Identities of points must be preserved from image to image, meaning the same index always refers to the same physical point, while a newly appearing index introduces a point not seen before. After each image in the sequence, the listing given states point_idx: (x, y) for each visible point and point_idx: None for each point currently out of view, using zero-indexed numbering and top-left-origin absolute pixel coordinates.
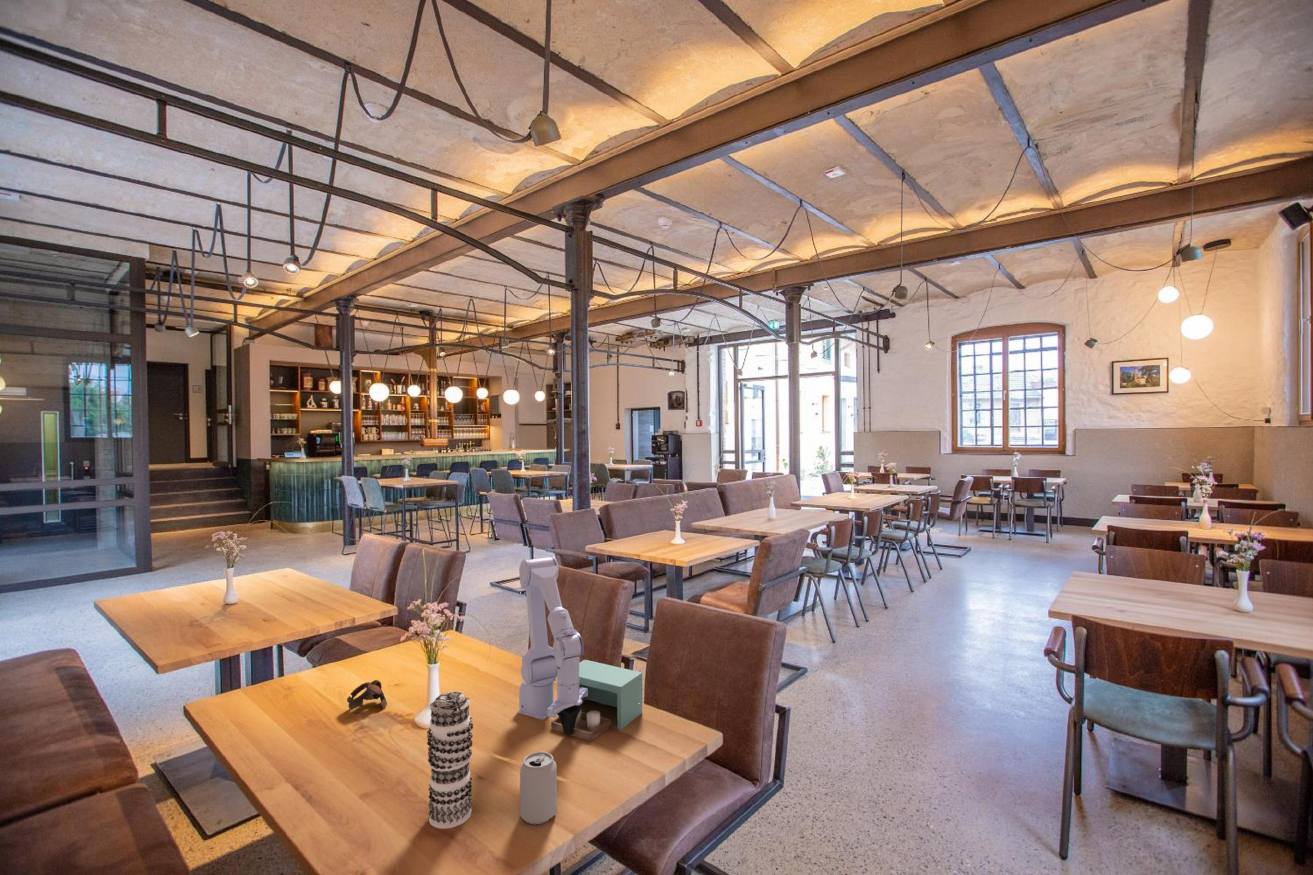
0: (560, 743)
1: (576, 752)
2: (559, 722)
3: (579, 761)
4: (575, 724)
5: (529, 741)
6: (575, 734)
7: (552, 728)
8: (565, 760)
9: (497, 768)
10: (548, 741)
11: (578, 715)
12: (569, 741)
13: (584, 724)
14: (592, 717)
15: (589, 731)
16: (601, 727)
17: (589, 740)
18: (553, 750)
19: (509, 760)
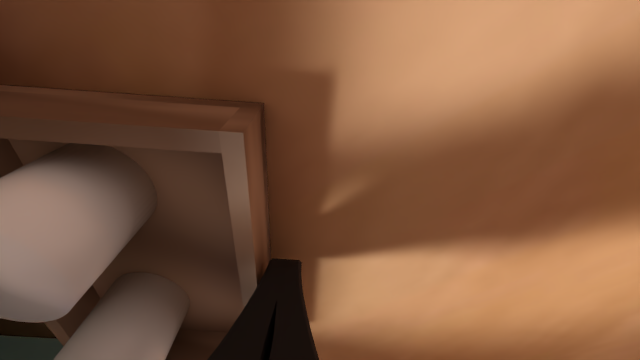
0: (353, 258)
1: (419, 131)
2: (217, 345)
3: (554, 31)
4: (166, 287)
5: (389, 350)
6: (263, 240)
7: None
8: (544, 142)
9: (628, 347)
10: (359, 304)
11: (113, 330)
12: (312, 233)
13: (119, 253)
14: (48, 252)
15: (155, 190)
16: (59, 113)
17: (259, 123)
18: (434, 253)
19: (558, 343)
